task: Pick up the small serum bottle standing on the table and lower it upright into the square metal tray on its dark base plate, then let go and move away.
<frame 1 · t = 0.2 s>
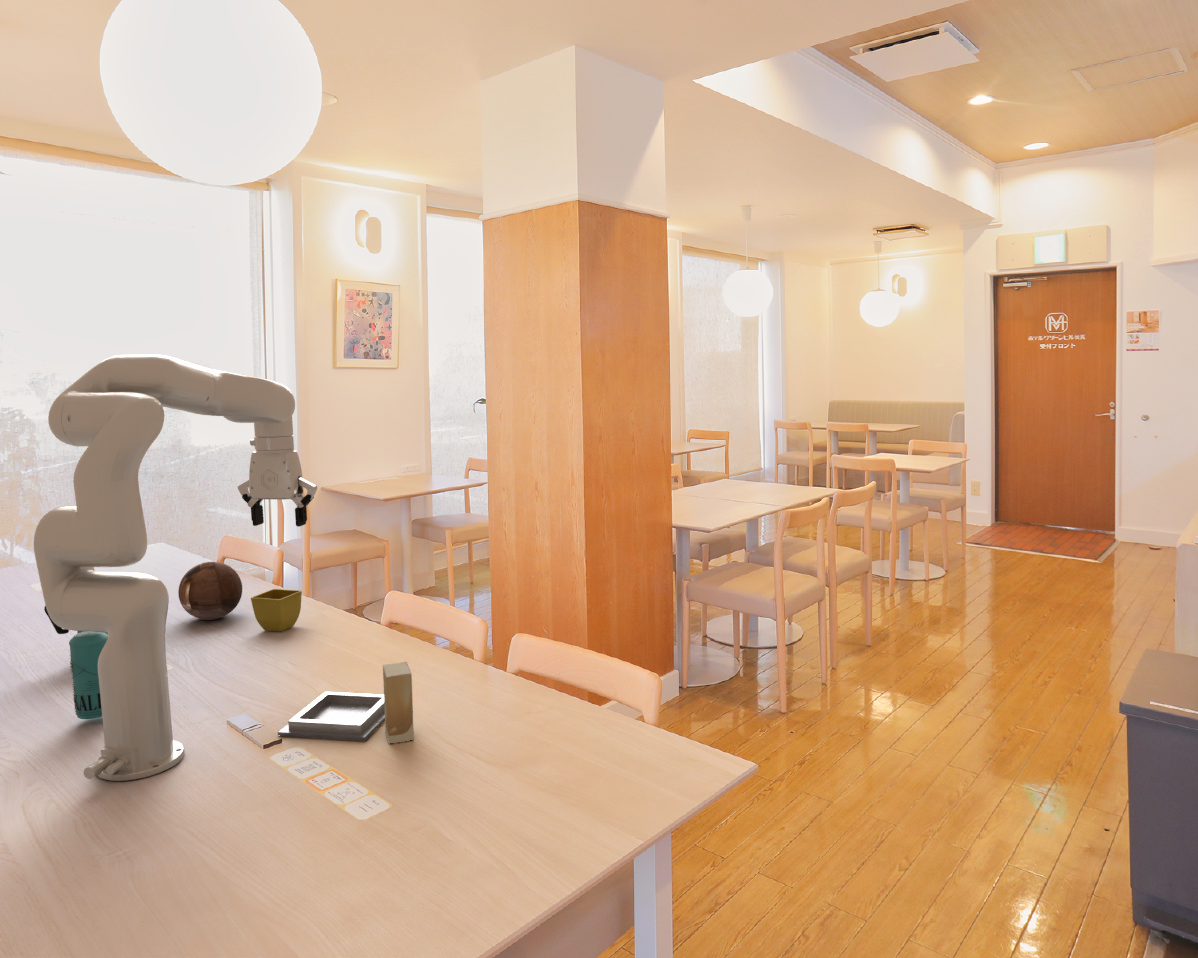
hand: (279, 525, 171), 31 cm above the table, tool pointing down, fingers open, 9 cm apart
flower pot: (278, 629, 201), on the table
beverage bottle: (96, 721, 147), on the table
wooden sphere: (213, 619, 210), on the table
square metal tray: (342, 719, 147), on the table
coffeepot: (92, 662, 179), on the table
skincare box: (399, 736, 140), on the table
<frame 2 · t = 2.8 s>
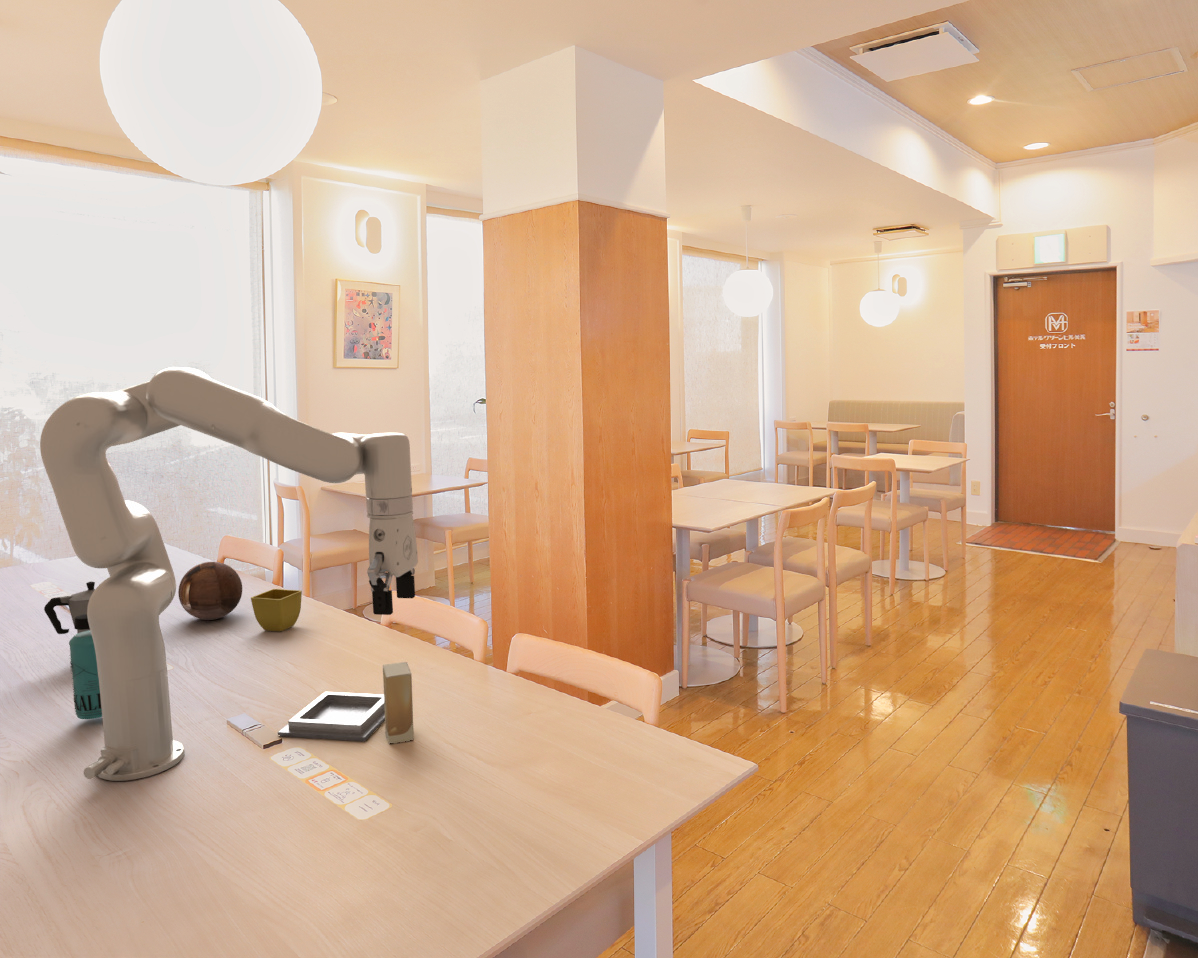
hand: (395, 605, 137), 23 cm above the table, tool pointing down, fingers open, 9 cm apart
nothing on the table moved.
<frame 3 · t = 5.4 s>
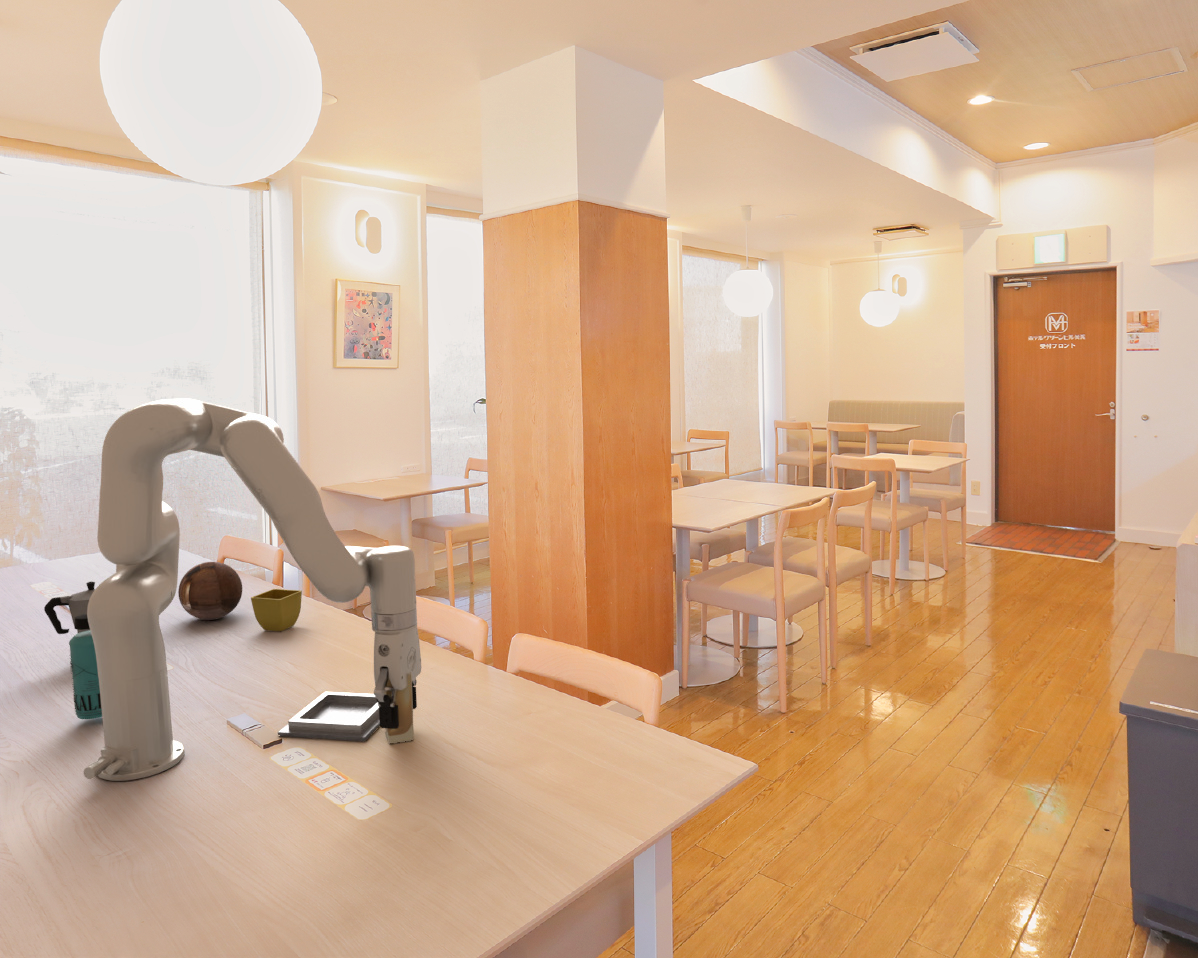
hand: (398, 717, 139), 3 cm above the table, tool pointing down, fingers closed on skincare box, 7 cm apart
skincare box: (399, 736, 140), on the table, touching gripper
everything else where it was.
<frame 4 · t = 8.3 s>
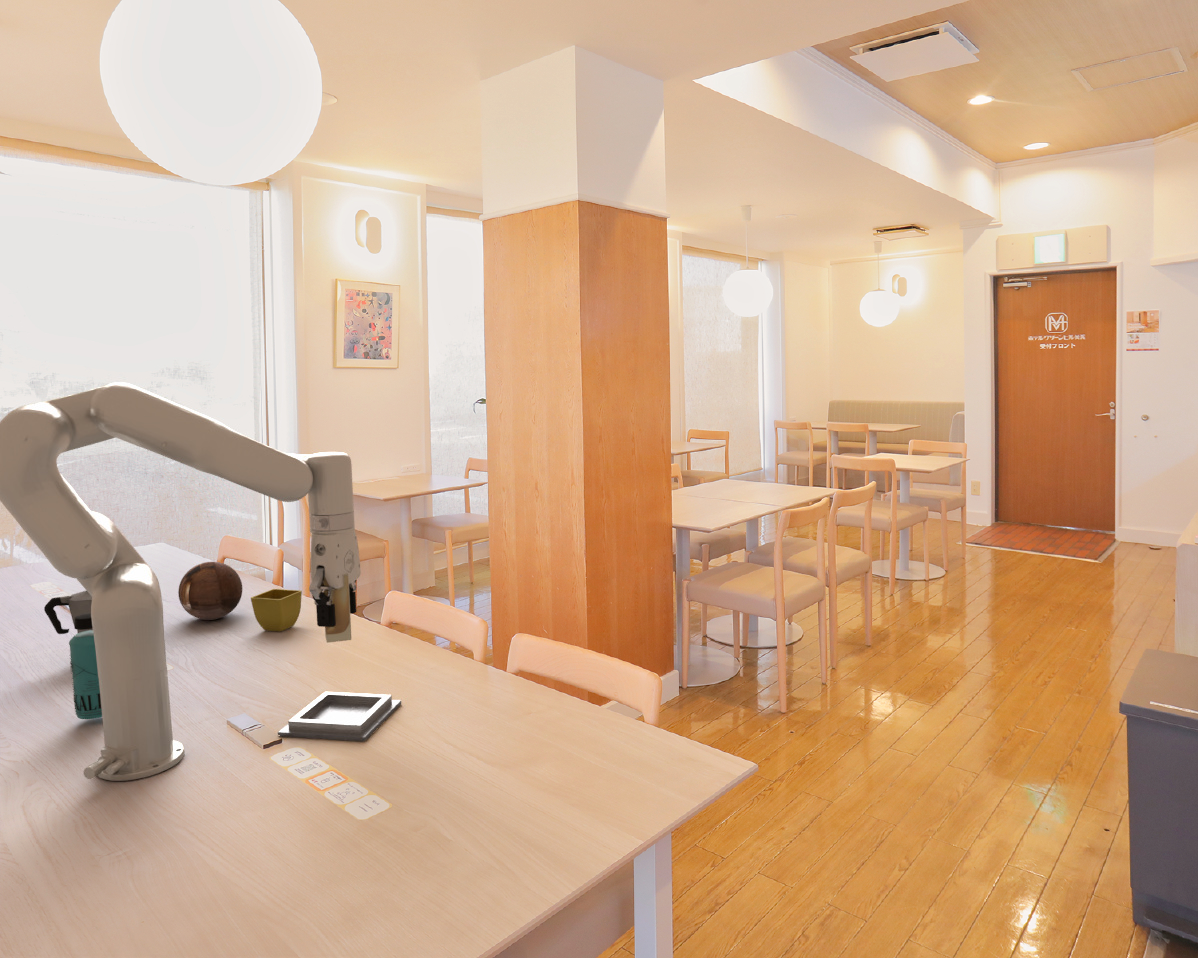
hand: (337, 618, 144), 19 cm above the table, tool pointing down, fingers closed on skincare box, 7 cm apart
skincare box: (338, 637, 145), point 15 cm above the table, touching gripper
everything else where it was.
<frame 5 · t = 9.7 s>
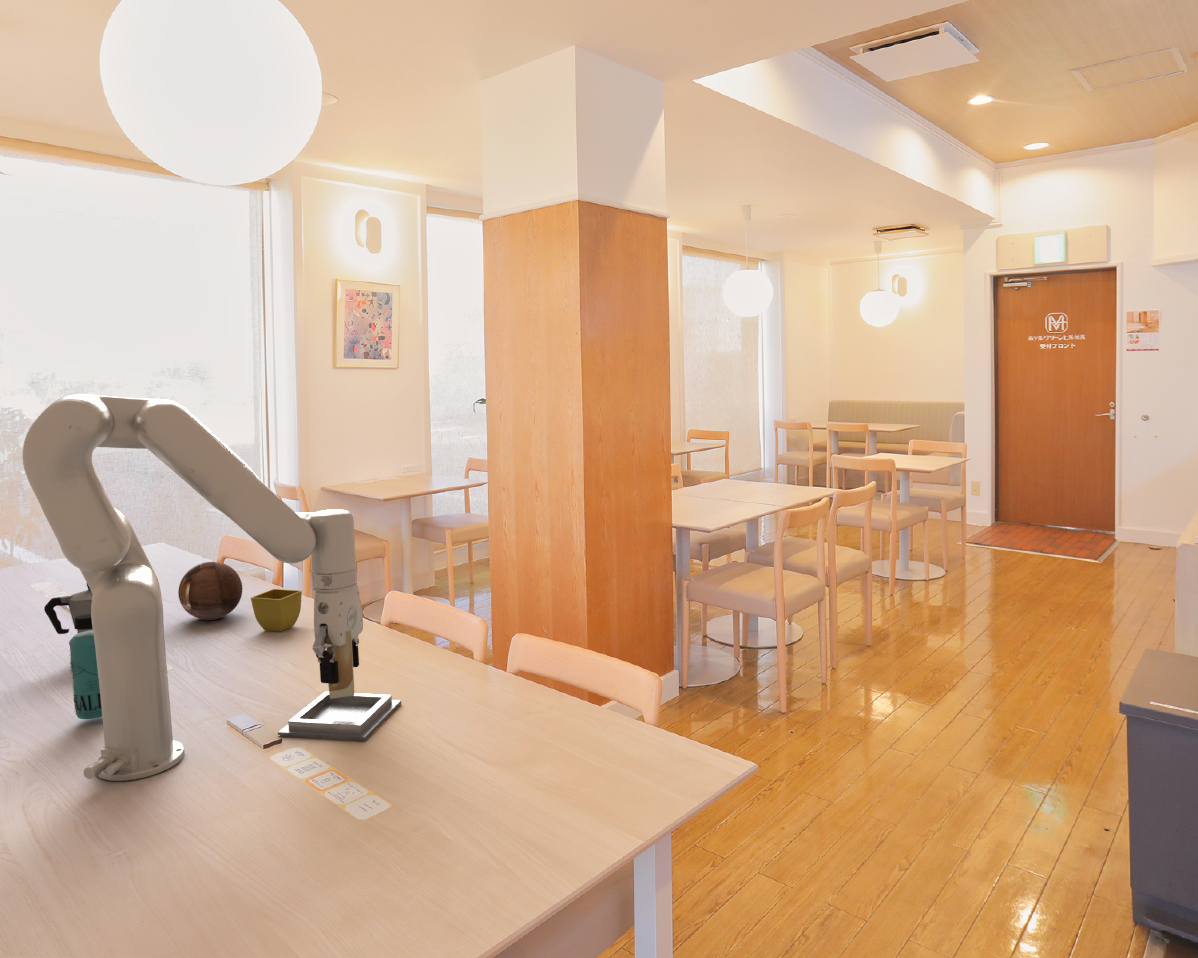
hand: (340, 673, 146), 9 cm above the table, tool pointing down, fingers closed on skincare box, 7 cm apart
skincare box: (341, 692, 146), point 5 cm above the table, touching gripper
everything else where it was.
when the fingers open (6 cm above the table, at t = 11.2 s): skincare box drops 1 cm, resting on square metal tray.
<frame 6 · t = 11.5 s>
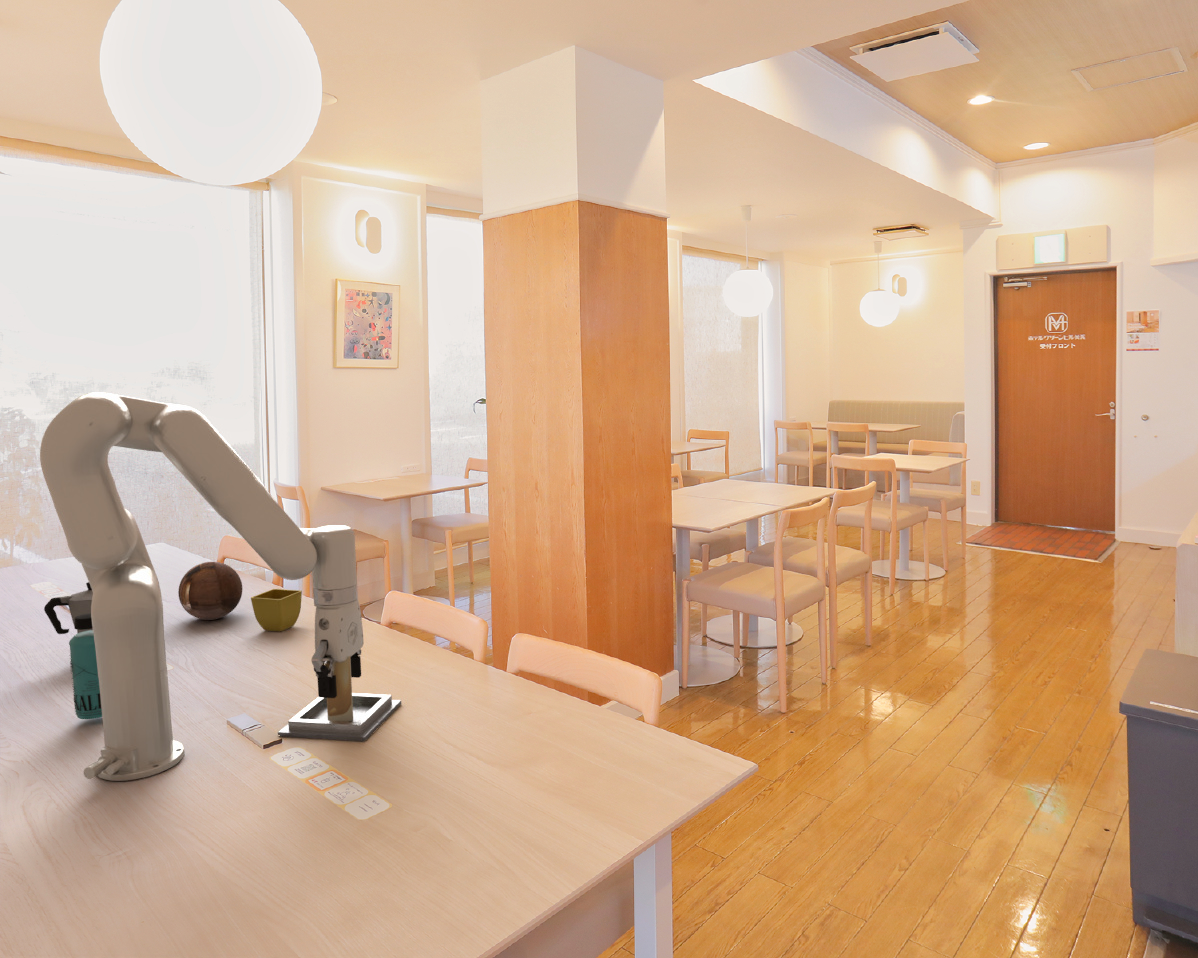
hand: (340, 686, 146), 6 cm above the table, tool pointing down, fingers open, 9 cm apart
skincare box: (340, 717, 146), point 1 cm above the table, touching square metal tray
everything else where it was.
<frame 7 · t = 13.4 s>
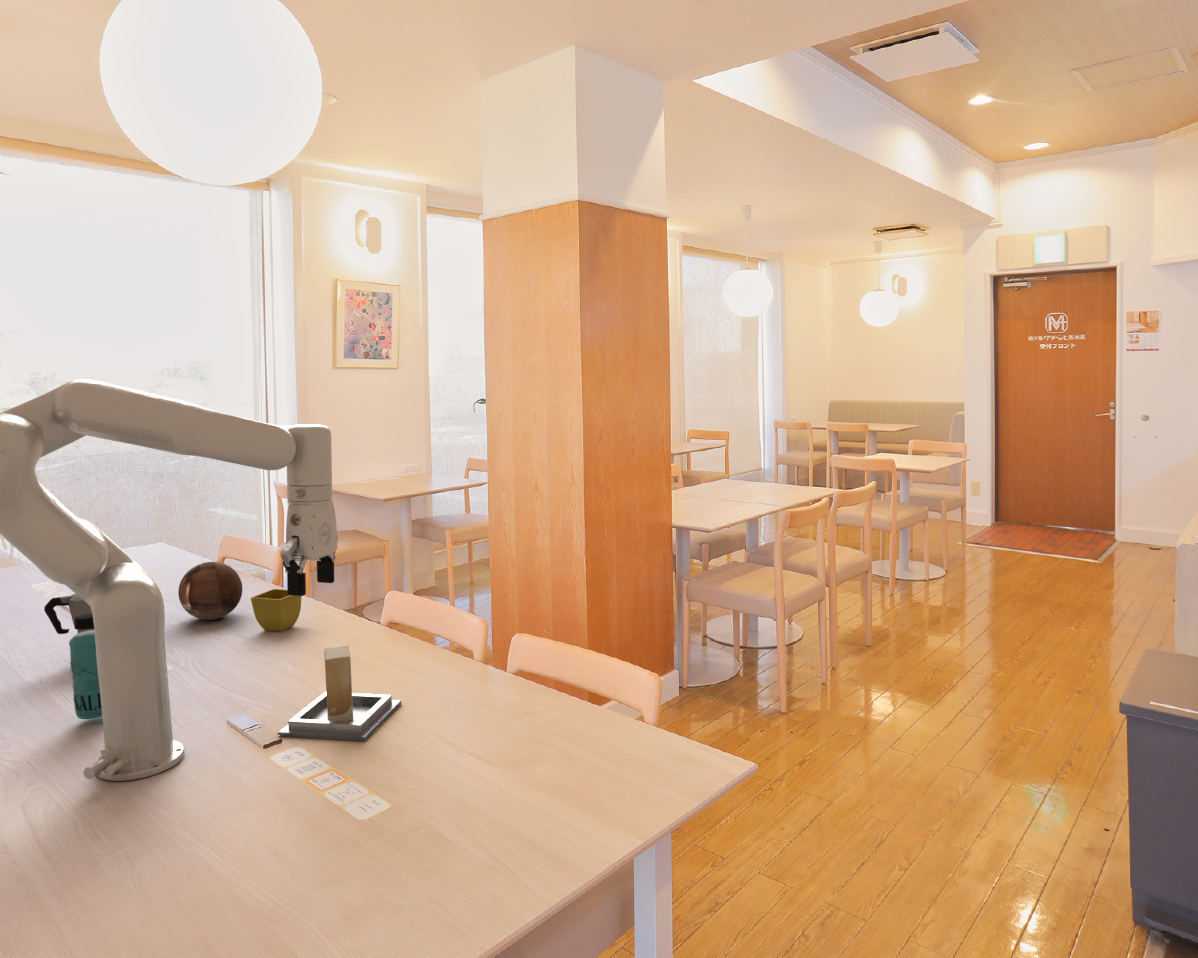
hand: (311, 588, 144), 24 cm above the table, tool pointing down, fingers open, 9 cm apart
nothing on the table moved.
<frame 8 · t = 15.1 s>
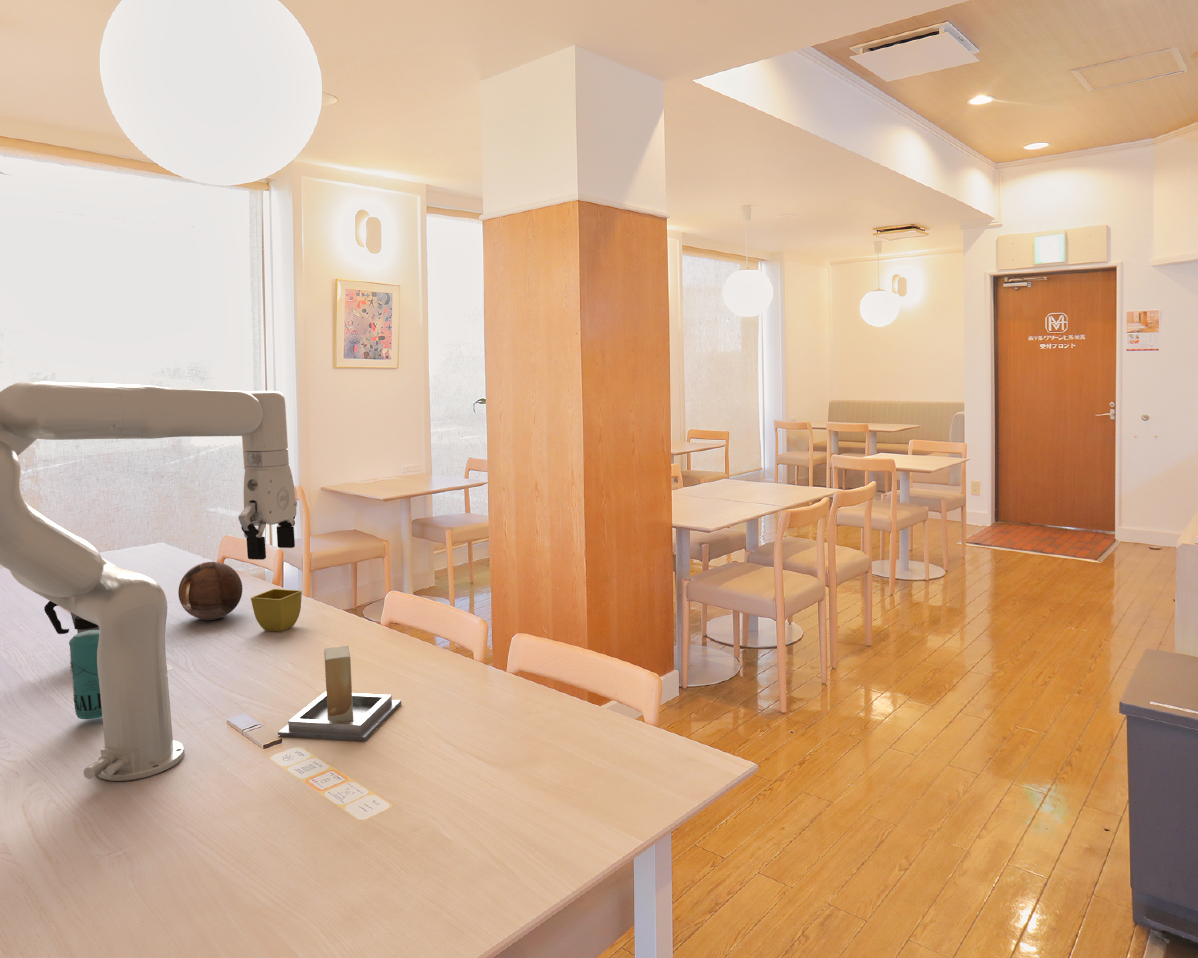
hand: (272, 553, 147), 30 cm above the table, tool pointing down, fingers open, 9 cm apart
nothing on the table moved.
at the end: skincare box inside the target area on the square metal tray (0.5 cm from its centre), point 0.6 cm above the square metal tray's base; skincare box tilted 0°; the gripper is holding nothing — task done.
